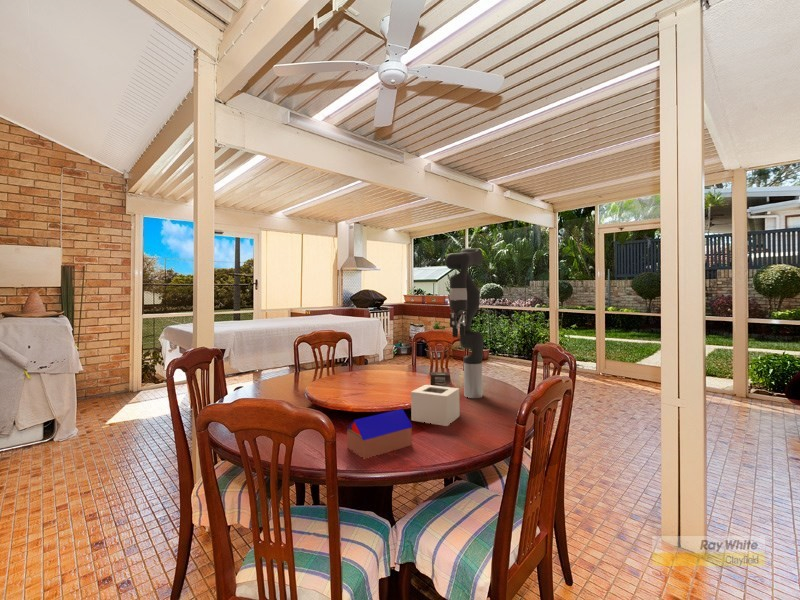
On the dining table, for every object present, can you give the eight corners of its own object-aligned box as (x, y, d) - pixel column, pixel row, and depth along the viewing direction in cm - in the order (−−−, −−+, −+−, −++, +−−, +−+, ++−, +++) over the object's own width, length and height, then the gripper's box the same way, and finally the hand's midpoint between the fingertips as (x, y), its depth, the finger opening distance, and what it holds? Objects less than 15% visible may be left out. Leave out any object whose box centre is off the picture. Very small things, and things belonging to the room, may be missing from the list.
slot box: (425, 411, 175) (425, 384, 175) (459, 416, 167) (459, 388, 167) (411, 420, 163) (411, 391, 162) (447, 426, 155) (446, 396, 155)
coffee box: (430, 410, 176) (429, 374, 176) (430, 406, 183) (429, 372, 182) (450, 410, 175) (450, 375, 175) (450, 406, 182) (449, 372, 182)
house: (346, 449, 135) (345, 415, 134) (393, 435, 146) (393, 404, 146) (363, 460, 125) (363, 424, 125) (413, 445, 137) (412, 412, 136)
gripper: (456, 298, 177) (456, 334, 178) (443, 299, 165) (444, 337, 165) (472, 298, 174) (472, 334, 174) (460, 299, 161) (461, 338, 162)
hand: (458, 336), depth 170 cm, fingers open, 8 cm apart
